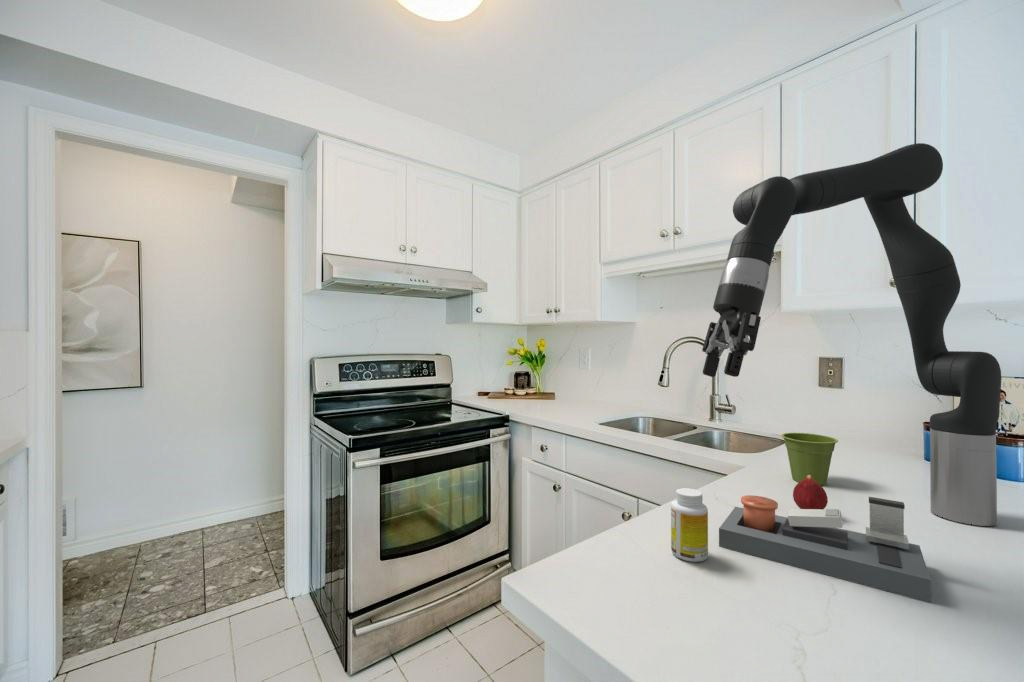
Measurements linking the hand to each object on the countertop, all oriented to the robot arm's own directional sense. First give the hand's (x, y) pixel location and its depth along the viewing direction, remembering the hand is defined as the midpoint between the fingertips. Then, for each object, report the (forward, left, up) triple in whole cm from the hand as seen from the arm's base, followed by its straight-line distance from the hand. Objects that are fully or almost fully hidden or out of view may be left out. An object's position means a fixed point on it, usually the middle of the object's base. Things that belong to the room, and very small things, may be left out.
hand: (719, 375), depth 76 cm
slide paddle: (-8, +23, -25) cm, 35 cm away
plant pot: (-51, +10, -29) cm, 59 cm away
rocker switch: (-4, +14, -23) cm, 27 cm away
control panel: (-4, +14, -29) cm, 32 cm away
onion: (-24, +12, -29) cm, 39 cm away
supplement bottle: (+9, -2, -29) cm, 30 cm away
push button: (-4, +6, -26) cm, 27 cm away
